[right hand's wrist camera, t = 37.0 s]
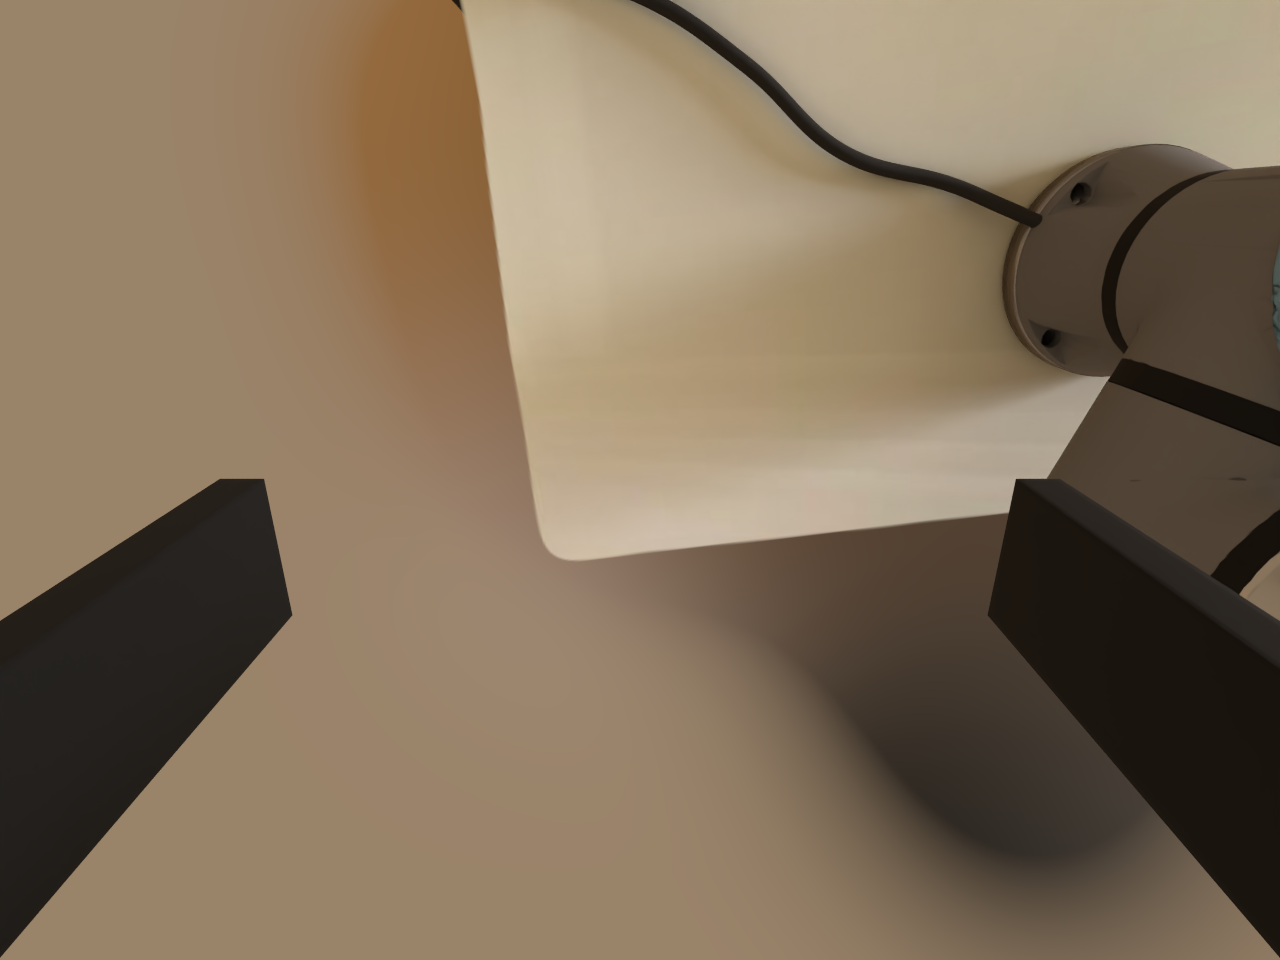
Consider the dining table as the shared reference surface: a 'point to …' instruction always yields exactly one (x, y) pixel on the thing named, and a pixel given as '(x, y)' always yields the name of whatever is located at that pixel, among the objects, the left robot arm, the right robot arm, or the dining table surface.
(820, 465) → the dining table surface
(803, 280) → the dining table surface
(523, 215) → the dining table surface
